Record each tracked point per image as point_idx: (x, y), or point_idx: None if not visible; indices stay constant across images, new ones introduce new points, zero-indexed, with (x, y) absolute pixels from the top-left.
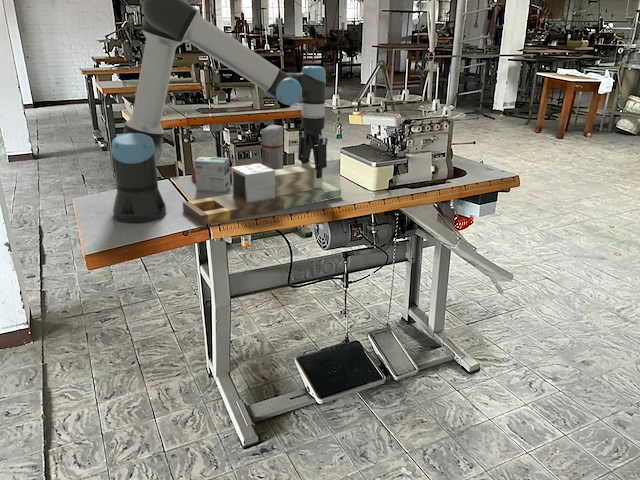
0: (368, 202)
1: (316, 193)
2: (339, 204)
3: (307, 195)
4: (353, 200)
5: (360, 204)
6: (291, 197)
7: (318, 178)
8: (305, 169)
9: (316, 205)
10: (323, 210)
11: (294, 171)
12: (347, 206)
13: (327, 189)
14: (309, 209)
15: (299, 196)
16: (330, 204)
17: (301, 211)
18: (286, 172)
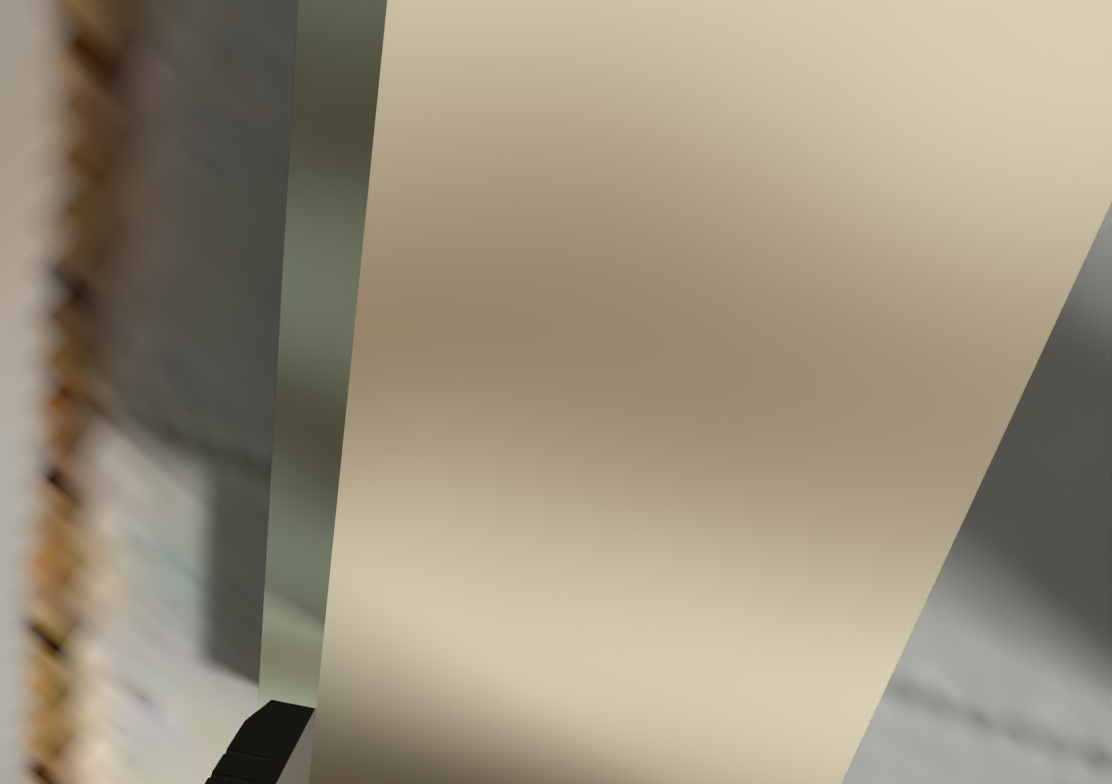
0: (44, 770)
1: (292, 476)
2: (134, 550)
3: (289, 311)
4: (165, 726)
5: (30, 686)
6: (358, 18)
7: (270, 708)
8: (437, 737)
9: (243, 341)
10: (48, 268)
11: (473, 356)
12: (38, 560)
13: None
14: (165, 157)
15: (322, 174)
16: (185, 484)
17: (153, 3)
18: (564, 3)
